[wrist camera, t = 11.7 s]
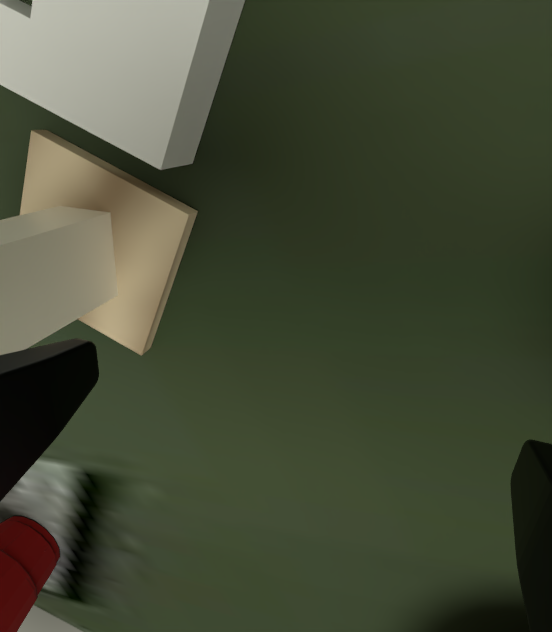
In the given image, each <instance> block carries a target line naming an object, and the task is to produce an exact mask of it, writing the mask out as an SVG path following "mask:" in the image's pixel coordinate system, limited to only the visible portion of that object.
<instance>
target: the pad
mask: <svg viewBox="0 0 552 632" xmlns="http://www.w3.org/2000/svg"><path fill="white" fill-rule="evenodd" d="M57 206H65V207H73V208H80V209H88V210H95V211H103V212H110V214H111V225H112V235H113V246H114V256H115V267H116V277H117V288H118V296H116V297H114V298H113V299H111V300H109V301H107V302H106V303H104V304H102V305H100V306H99V307H97V308H95V309H94V310H92V311H90V312H88V313H87V314H85V315H83V316H82V317H80V318H78V320H80V321H82V322H83V323H85V324H87V325H89V326H91V327H92V328H94V329H96V330H98V331H99V332H101V333H103V334H105V335H106V336H108V337H110V338H112V339H113V340H115V341H117V342H119V343H120V344H122V345H124V346H126V347H127V348H129V349H131V350H133V351H134V352H136V353H138V354H140V355H143V354H144V353H145V352H146V351H147V350H149V349H150V348H151V346H152V343H153V340H154V337H155V334H156V331H157V328H158V325H159V322H160V320H161V317H162V314H163V311H164V308H165V305H166V302H167V299H168V296H169V294H170V291H171V288H172V285H173V282H174V279H175V276H176V273H177V270H178V268H179V265H180V262H181V259H182V256H183V253H184V250H185V247H186V244H187V242H188V239H189V236H190V233H191V230H192V227H193V224H194V221H195V218H196V216H197V213H198V211H197V210H195V209H193V208H191V207H189V206H187V205H185V204H184V203H182V202H180V201H178V200H176V199H174V198H172V197H171V196H169V195H167V194H165V193H163V192H161V191H159V190H158V189H156V188H154V187H152V186H150V185H148V184H146V183H144V182H143V181H141V180H139V179H137V178H135V177H133V176H131V175H130V174H128V173H126V172H124V171H122V170H120V169H118V168H117V167H115V166H113V165H111V164H109V163H107V162H105V161H103V160H102V159H100V158H98V157H96V156H94V155H92V154H90V153H89V152H87V151H85V150H83V149H81V148H79V147H77V146H76V145H74V144H72V143H70V142H68V141H66V140H64V139H62V138H61V137H59V136H57V135H55V134H53V133H51V132H49V131H48V130H31V136H30V144H29V151H28V158H27V166H26V173H25V180H24V188H23V195H22V202H21V210H20V215H24V214H28V213H32V212H36V211H40V210H45V209H49V208H53V207H57Z"/></svg>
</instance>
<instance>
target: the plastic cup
mask: <svg viewBox="0 0 552 632" xmlns="http://www.w3.org/2000/svg"><path fill="white" fill-rule="evenodd" d="M59 557H60V554H59V547H58V545H57V544H56V542H55V540H54V538H53V537H52V536H51V535H50V534H49V533H48V531H47V530H46V529H45V528H43V527H42V526H40V525H39V524H38V523H36V522H35V521H32V520H30V519H28V518H25V517H19V516H13V517H11V518H9V519H7V520H5V521H4V522H2V523H0V632H17V631H18V629H19V627H20V626H21V624H22V622H23V621H24V619H25V617H26V616H27V614H28V612H29V611H30V609H31V607H32V606H33V604H34V603H35V601H36V599H37V598H38V597H37V595H38V594H39V592H40V591H41V589H42V587H43V586H44V584H45V582H46V581H47V579H48V578H49V576H50V574H51V573H52V571H53V569H54V568H55V566H56V562H57V561H58V559H59Z"/></svg>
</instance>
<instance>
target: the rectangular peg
mask: <svg viewBox="0 0 552 632" xmlns="http://www.w3.org/2000/svg"><path fill="white" fill-rule="evenodd" d="M116 296H118V288H117V277H116V267H115V256H114V246H113V235H112V225H111V214H110V212H103V211H95V210H88V209H80V208H73V207H65V206H57V207H53V208H49V209H45V210H40V211H36V212H32V213H28V214H24V215H19V216H15V217H11V218H7V219H3V220H0V355H3V354H8V353H12V352H17V351H21V350H25V349H27V348H28V347H30V346H32V345H33V344H35V343H37V342H39V341H40V340H42V339H44V338H45V337H47V336H49V335H51V334H52V333H54V332H56V331H58V330H59V329H61V328H63V327H64V326H66V325H68V324H70V323H71V322H73V321H75V320H76V319H78V318H80V317H82V316H83V315H85V314H87V313H88V312H90V311H92V310H94V309H95V308H97V307H99V306H100V305H102V304H104V303H106V302H107V301H109V300H111V299H113V298H114V297H116Z"/></svg>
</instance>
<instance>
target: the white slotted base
mask: <svg viewBox="0 0 552 632" xmlns="http://www.w3.org/2000/svg"><path fill="white" fill-rule="evenodd" d="M244 2H245V0H32V7H31V6H30V5H28V4H26V3H24V2H22V1H20V0H0V85H2V86H4V87H6V88H8V89H9V90H11V91H13V92H15V93H17V94H19V95H21V96H23V97H24V98H26V99H28V100H30V101H32V102H34V103H36V104H38V105H39V106H41V107H43V108H45V109H47V110H49V111H51V112H53V113H54V114H56V115H58V116H60V117H62V118H64V119H66V120H68V121H69V122H71V123H73V124H75V125H77V126H79V127H81V128H83V129H84V130H86V131H88V132H90V133H92V134H94V135H96V136H98V137H99V138H101V139H103V140H105V141H107V142H109V143H111V144H113V145H115V146H116V147H118V148H120V149H122V150H124V151H126V152H128V153H130V154H131V155H133V156H135V157H137V158H139V159H141V160H143V161H145V162H146V163H148V164H150V165H152V166H154V167H156V168H158V169H160V170H163V169H168V168H174V167H179V166H184V165H189V164H193V161H194V158H195V155H196V151H197V148H198V145H199V142H200V139H201V136H202V133H203V130H204V127H205V123H206V120H207V117H208V114H209V111H210V108H211V105H212V102H213V99H214V95H215V92H216V89H217V86H218V83H219V80H220V77H221V74H222V71H223V68H224V64H225V61H226V58H227V55H228V52H229V49H230V46H231V43H232V40H233V36H234V33H235V30H236V27H237V24H238V21H239V18H240V15H241V12H242V8H243V5H244Z"/></svg>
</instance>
